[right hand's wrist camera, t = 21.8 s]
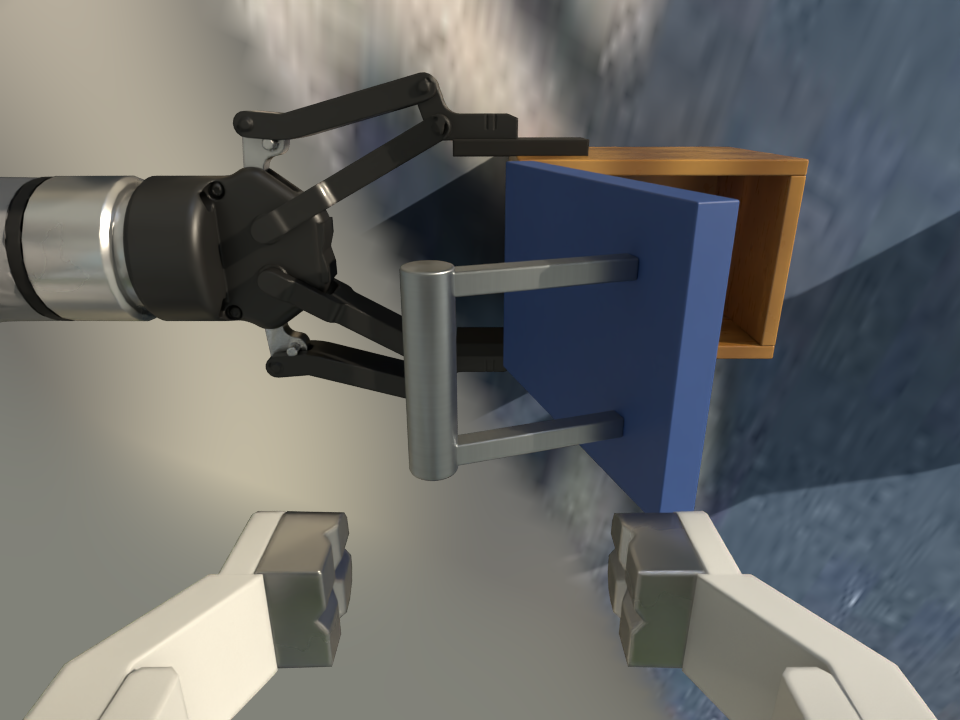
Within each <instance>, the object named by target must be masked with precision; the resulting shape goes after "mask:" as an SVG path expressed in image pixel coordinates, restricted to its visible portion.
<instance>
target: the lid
mask: <svg viewBox="0 0 960 720" xmlns="http://www.w3.org/2000/svg"><path fill="white" fill-rule="evenodd" d="M738 209H739V200H737V199H732V198H727V197H722V196H716V195H711V194H706V193H700V192H695V191H690V190H685V189H679V188H674V187H669V186H663V185H658V184H653V183H647V182H642V181H637V180H632V179H626V178H621V177H616V176H610V175H605V174H600V173H595V172H589V171H584V170H579V169H573V168H568V167H563V166H557V165H552V164H547V163H542V162H536V161H507V162H506V197H505V263H495V264H482V265H470V266H457V267H454V265H453V264H451V263H448V262H444V261H437V260H421V261H413V262H409V263H406V264H403V265H402V266H401V267H400V289H401V309H402V329H403V349H404V370H405V390H406V410H407V429H408V450H409V469H410V471H411V473H412V474H413V475H414V476H415V477H417V478H419V479H422V480H427V481H438V480H443V479H446V478H449V477H451V476H452V475H453V474H454V473H455V472H456V471H457V468H458V465H464V464H469V463H475V462H481V461H487V460H492V459H498V458H504V457H510V456H515V455H521V454H527V453H533V452H538V451H544V450H550V449H556V448H561V447H567V446H573V445H580V446H581V447H582V448H583V449H584V450H585V451H586V452H587V453H588V454H589V455H590V456H591V458H592V459H593V460H594V461H595V462H596V463H597V464H598V465H599V466H600V467H601V468H602V469H603V470H604V471H605V472H606V473H607V474H608V475H609V476H610V477H611V478H612V479H613V480H614V481H615V482H616V483H617V484H618V485H619V487H620V488H621V489H622V490H623V491H624V492H625V493H626V494H627V495H628V496H629V497H630V498H631V499H632V500H633V501H634V502H635V503H636V504H637V505H638V506H639V507H640V508H641V509H642V510H643V511H644V512H645V513H673V512H681V511H694V506H695V499H696V492H697V486H698V479H699V472H700V465H701V459H702V452H703V445H704V438H705V432H706V425H707V418H708V411H709V405H710V398H711V391H712V384H713V378H714V371H715V364H716V357H717V351H718V344H719V337H720V330H721V324H722V317H723V310H724V303H725V296H726V290H727V283H728V276H729V269H730V263H731V256H732V249H733V242H734V236H735V229H736V222H737V215H738ZM494 293H504V347H503V366H504V367H505V368H506V369H507V371H508V372H509V373H510V374H511V375H512V376H513V377H514V378H515V379H516V380H517V381H518V382H519V383H520V384H521V385H522V386H523V387H524V388H525V389H526V390H527V391H528V392H529V393H530V394H531V395H532V396H533V397H534V398H535V400H536V401H537V402H538V403H539V404H540V405H541V406H542V407H543V408H544V409H545V410H546V411H547V412H548V413H549V414H550V415H551V416H552V417H553V418H554V419H555V420H549V421H543V422H537V423H530V424H524V425H518V426H512V427H505V428H499V429H493V430H486V431H480V432H474V433H468V434H461V435H458V427H457V365H456V304H455V297H461V296H472V295H483V294H494Z"/></svg>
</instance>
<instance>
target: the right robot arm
mask: <svg viewBox="0 0 960 720" xmlns="http://www.w3.org/2000/svg"><path fill="white" fill-rule="evenodd" d="M348 535H349V529H348V521H347V516H346V515H345V513H344V512H296V511H287V512H284V511H258V512H256V513H254V514H253V515H252V516H251V517H250V519H249V521H248V522H247V524H246V526H245V528H244V529H243V531H242V533H241V535H240V537H239V538H238V540H237V542H236V544H235V545H234V547H233V549H232V551H231V552H230V554H229V556H228V558H227V559H226V561H225V563H224V565H223V567H222V568H221V570H220V572H219V574H209V575H207V576H206V577H204V578H203V579H201V580H199V581H198V582H196V583H194V584H193V585H191V586H190V587H188V588H186V589H185V590H183V591H182V592H180V593H178V594H177V595H175V596H174V597H172V598H170V599H169V600H167V601H165V602H164V603H162V604H161V605H159V606H157V607H156V608H154V609H153V610H151V611H149V612H148V613H146V614H144V615H143V616H141V617H140V618H138V619H137V620H135V621H133V622H132V623H130V624H129V625H127V626H125V627H124V628H122V629H120V630H119V631H117V632H116V633H114V634H112V635H111V636H109V637H107V638H106V639H104V640H103V641H101V642H99V643H98V644H96V645H95V646H93V647H91V648H90V649H88V650H87V651H85V652H83V653H82V654H80V655H78V656H77V657H75V658H74V659H72V660H70V661H69V662H67V663H66V664H64V665H63V667H62V668H61V670H60V671H59V672H58V674H57V675H56V676H55V677H54V679H53V680H52V681H51V683H50V684H49V685H48V687H47V688H46V690H45V691H44V692H43V693H42V695H41V696H40V697H39V699H38V700H37V701H36V703H35V704H34V705H33V707H32V708H31V709H30V711H29V712H28V713H27V715H26V716H25V717H24V719H23V720H231V719H232V718H233V717H234V716H235V715H236V714H237V713H238V712H239V711H240V710H241V709H242V707H243V706H244V705H245V704H246V703H247V702H248V701H249V700H250V699H251V698H252V697H253V696H254V695H255V694H256V693H257V692H258V691H259V690H260V689H261V688H262V687H263V686H264V685H265V684H266V683H267V682H268V681H269V680H270V679H271V678H272V677H273V676H274V675H275V674H276V673H277V671H278V670H277V668H302V667H332V665H333V661H334V657H335V654H336V650H337V646H338V643H339V639H340V635H341V628H340V618H341V617H342V616H343V615H344V614H345V613H346V612H347V609H348V605H349V601H350V594H351V585H352V561H351V555H350V554H349V553H348V551H347V550H346V549H345V545H346V542H347V539H348ZM611 535H612V539H613V542H614V545H615V549H614V550H613V551H612V552H611V554H610V555H609V562H608V588H609V594H610V601H611V605H612V609H613V612H614V613H615V614H616V615H617V616H618V617H619V618H620V628H619V635H620V639H621V643H622V646H623V650H624V654H625V657H626V661H627V664H628V667H658V668H682V671H683V672H684V673H685V674H686V675H687V676H688V677H689V678H690V679H691V680H692V681H693V682H694V684H695V685H696V686H697V687H698V688H699V689H700V690H701V691H702V692H703V693H704V694H705V695H706V696H707V697H708V698H709V699H710V700H711V701H712V702H713V703H714V704H715V705H716V706H717V707H718V708H719V709H720V710H721V711H722V712H723V713H724V714H725V715H726V716H727V718H728V719H729V720H937V719H936V717H935V716H934V715H933V713H932V712H931V711H930V709H929V708H928V707H927V705H926V704H925V703H924V701H923V700H922V698H921V697H920V696H919V694H918V693H917V692H916V690H915V689H914V688H913V686H912V685H911V684H910V682H909V681H908V680H907V678H906V677H905V676H904V674H903V673H902V672H901V670H900V669H899V668H898V666H897V665H896V664H894V663H892V662H891V661H889V660H887V659H886V658H884V657H883V656H881V655H879V654H878V653H876V652H875V651H873V650H871V649H870V648H868V647H867V646H865V645H863V644H862V643H860V642H859V641H857V640H855V639H854V638H852V637H851V636H849V635H847V634H846V633H844V632H843V631H841V630H839V629H838V628H836V627H835V626H833V625H831V624H830V623H828V622H827V621H825V620H823V619H822V618H820V617H818V616H817V615H815V614H814V613H812V612H810V611H809V610H807V609H806V608H804V607H802V606H801V605H799V604H798V603H796V602H794V601H793V600H791V599H790V598H788V597H786V596H785V595H783V594H782V593H780V592H778V591H777V590H775V589H774V588H772V587H770V586H769V585H767V584H766V583H764V582H762V581H761V580H759V579H758V578H756V577H754V576H753V575H751V574H741V572H740V570H739V568H738V567H737V565H736V563H735V561H734V560H733V558H732V556H731V554H730V553H729V551H728V549H727V547H726V546H725V544H724V542H723V540H722V539H721V537H720V535H719V534H718V532H717V530H716V528H715V527H714V525H713V523H712V521H711V520H710V518H709V516H708V514H707V513H705V512H704V511H681V512H673V513H614V517H613V520H612V529H611Z"/></svg>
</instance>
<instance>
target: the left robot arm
mask: <svg viewBox="0 0 960 720" xmlns="http://www.w3.org/2000/svg"><path fill="white" fill-rule="evenodd" d="M414 105H418V107H419V110H420V113H421V115H422V118H423V121H422V122H421V123H419V124H417V125H416V126H414V127H412V128H411V129H409V130H407V131H406V132H404V133H402V134H401V135H399V136H397V137H396V138H394V139H392V140H391V141H389V142H387V143H385V144H384V145H382V146H380V147H379V148H377V149H375V150H374V151H372V152H370V153H369V154H367V155H365V156H364V157H362V158H360V159H359V160H357V161H355V162H354V163H352V164H350V165H349V166H347V167H345V168H344V169H342V170H340V171H339V172H337V173H335V174H334V175H332V176H330V177H329V178H327V179H325V180H324V181H322V182H320V183H318V184H317V185H315V186H313V187H312V188H310V189H308V190H307V191H305V192H303V191H302V190H301V189H299V188H298V187H296V186H295V185H293V184H292V183H290V182H289V181H288V180H286V179H285V178H283V177H282V176H280V175H279V174H277V173H276V172H275V171H273V170H272V169H270V168H269V163H270V161H271V159H272V158H273V157H275V156H277V155H282V154H284V153H286V152H287V151H288V149H289V145H290V139H296V138H302V137H307V136H311V135H315V134H318V133H322V132H325V131H329V130H332V129H335V128H339V127H342V126H346V125H349V124H353V123H356V122H359V121H363V120H366V119H370V118H373V117H376V116H380V115H383V114H387V113H390V112H393V111H397V110H400V109H404V108H407V107H411V106H414ZM233 126H234V129H235V131H236V132H237V133H238V134H239V135H240V136H242V141H243V162H244V168H242V169H240V170H239V171H237V172H236V173H234V174H232V175H227V176H151V177H148V178H147V179H145V180H143V179H141V178H138V177H136V176H54V177H40V178H28V177H0V322H7V321H150V320H152V319H155V318H159V319H161V320H165V321H235V320H242V321H247V322H250V323H253V324H255V325H257V326H259V327H262V328H264V329H265V331H266V336H267V340H268V345H269V349H270V353H271V357H270V358H269V360H268V361H267V363H266V370H267V372H268V373H269V374H270V375H271V376H273V377H278V378H279V377H292V376H305V375H310V376H314V377H319V378H323V379H327V380H331V381H335V382H339V383H344V384H348V385H352V386H356V387H360V388H364V389H369V390H373V391H377V392H381V393H385V394H389V395H394V396H398V397H402V398H406V390H405V370H404V360H400V359H396V358H392V357H388V356H384V355H380V354H376V353H372V352H368V351H363V350H359V349H355V348H351V347H347V346H343V345H339V344H335V343H331V342H326V341H317V340H310V339H309V337H308V336H307V335H306V334H305V333H302V332H297V331H294V330H292V329H291V328H290V327H289V325H288V323H287V322H288V321H290V320H291V319H293V318H294V317H295V316H297V315H298V314H299V313H301V312H302V311H303V310H304V311H306V312H308V313H310V314H312V315H314V316H316V317H318V318H320V319H322V320H324V321H326V322H330V323H338V324H340V325H342V326H344V327H346V328H348V329H350V330H352V331H354V332H356V333H358V334H360V335H362V336H364V337H366V338H368V339H370V340H372V341H374V342H376V343H378V344H380V345H382V346H384V347H386V348H388V349H390V350H392V351H394V352H396V353H398V354H400V355H402V356H404V349H403V329H402V316H401V315H399V314H397V313H395V312H393V311H391V310H389V309H387V308H386V307H384V306H382V305H380V304H378V303H376V302H374V301H372V300H370V299H368V298H366V297H364V296H362V295H360V294H358V293H356V292H355V291H353V289H352V288H351V287H350V286H348V285H347V284H345V283H343V282H341V281H339V280H337V279H335V278H334V277H335V276H336V275H337V266H336V259H335V256H334V253H333V250H332V248H331V242H332V237H333V232H334V231H333V219H332V217H329V215H328V213H327V211H326V209H327V208H329V207H331V206H332V205H334V204H336V203H337V202H339V201H341V200H342V199H344V198H346V197H347V196H349V195H351V194H353V193H354V192H356V191H358V190H359V189H361V188H363V187H364V186H366V185H368V184H370V183H371V182H373V181H375V180H376V179H378V178H380V177H381V176H383V175H385V174H386V173H388V172H390V171H392V170H393V169H395V168H397V167H398V166H400V165H402V164H403V163H405V162H407V161H409V160H410V159H412V158H414V157H415V156H417V155H419V154H420V153H422V152H424V151H426V150H427V149H429V148H431V147H432V146H434V145H436V144H437V143H439V142H441V141H443V140H453V156H588V151H589V140H588V139H584V138H581V137H561V138H518V118H516V117H514V116H512V115H509V114H459V113H455V112H452V111H451V110H450V109H449V108H448V107H447V106H446V104H445V101H444V99H443V96H442V93H441V90H440V87H439V84H438V82H437V80H436V79H435V78H434V77H433V76H432V75H430V74H428V73H425V72H423V73H417V74H414V75H411V76H407V77H404V78H400V79H397V80H394V81H390V82H387V83H384V84H380V85H377V86H374V87H370V88H367V89H364V90H360V91H357V92H353V93H350V94H347V95H343V96H340V97H337V98H333V99H330V100H327V101H323V102H320V103H317V104H313V105H310V106H306V107H303V108H300V109H296V110H293V111H290V112H286V113H280V112H269V111H241V112H239V113H237V114H236V115H235V117H234V119H233ZM503 347H504V327H457V336H456V365H457V373H458V372H485V371H487V372H493V371H494V372H504V371H507V369H506V368H505V367H504V366H503Z"/></svg>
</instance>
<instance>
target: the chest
mask: <svg viewBox="0 0 960 720" xmlns="http://www.w3.org/2000/svg"><path fill="white" fill-rule="evenodd" d="M509 161H536V162H542V163H547V164H552V165H557V166H563V167H568V168H573V169H579V170H584V171H589V172H595V173H600V174H605V175H610V176H616V177H621V178H626V179H632V180H637V181H642V182H647V183H653V184H658V185H663V186H669V187H674V188H679V189H685V190H690V191H695V192H700V193H706V194H711V195H716V196H722V197H727V198H732V199H737V200H739V209H738V215H737V222H736V229H735V236H734V242H733V249H732V256H731V263H730V269H729V276H728V283H727V290H726V296H725V303H724V310H723V317H722V324H721V330H720V337H719V344H718V351H717V357H716V359H771V358H772V357H773V352H774V345H775V342H776V337H777V331H778V326H779V320H780V315H781V309H782V304H783V298H784V293H785V288H786V282H787V277H788V271H789V266H790V260H791V255H792V249H793V244H794V239H795V233H796V228H797V222H798V217H799V211H800V206H801V200H802V195H803V189H804V184H805V179H806V176H804V175H806V172H807V167H808V162H809V161H808V159H802V158H796V157H790V156H783V155H777V154H771V153H764V152H758V151H751V150H745V149H739V148H732V147H589V151H588V156H509Z"/></svg>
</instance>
